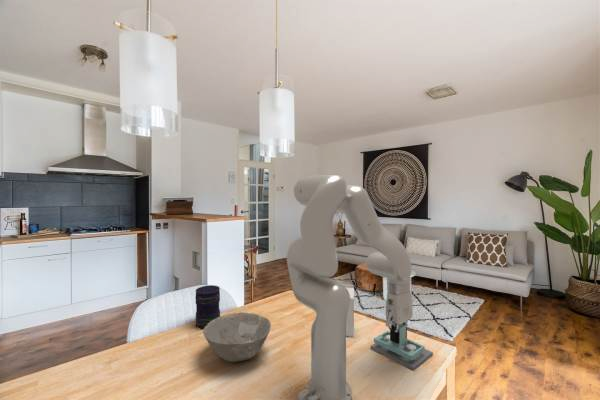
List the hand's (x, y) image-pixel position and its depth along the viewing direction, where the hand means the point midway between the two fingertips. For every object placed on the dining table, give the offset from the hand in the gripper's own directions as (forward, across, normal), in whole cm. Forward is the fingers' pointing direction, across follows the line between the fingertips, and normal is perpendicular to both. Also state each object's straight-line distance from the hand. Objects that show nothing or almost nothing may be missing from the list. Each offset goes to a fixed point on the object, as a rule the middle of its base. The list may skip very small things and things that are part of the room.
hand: (398, 339), depth 95 cm
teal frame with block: (+2, 0, 0) cm, 2 cm away
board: (+5, +2, 0) cm, 5 cm away
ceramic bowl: (+5, -42, +35) cm, 55 cm away
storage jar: (+5, -41, +64) cm, 76 cm away
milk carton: (+5, -2, +22) cm, 23 cm away
